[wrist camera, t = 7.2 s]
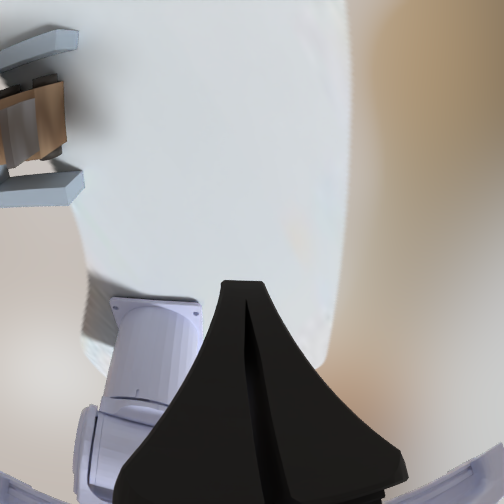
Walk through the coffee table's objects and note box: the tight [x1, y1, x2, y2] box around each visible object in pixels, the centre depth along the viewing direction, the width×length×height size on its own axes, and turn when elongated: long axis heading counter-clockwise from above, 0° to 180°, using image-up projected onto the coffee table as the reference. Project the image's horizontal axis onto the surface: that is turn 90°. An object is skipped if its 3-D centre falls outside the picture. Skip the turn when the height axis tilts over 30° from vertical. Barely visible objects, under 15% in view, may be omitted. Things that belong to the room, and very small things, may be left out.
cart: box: [0, 74, 67, 169], centre depth 10 cm, size 5×5×6 cm
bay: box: [0, 29, 85, 208], centre depth 12 cm, size 10×8×2 cm
